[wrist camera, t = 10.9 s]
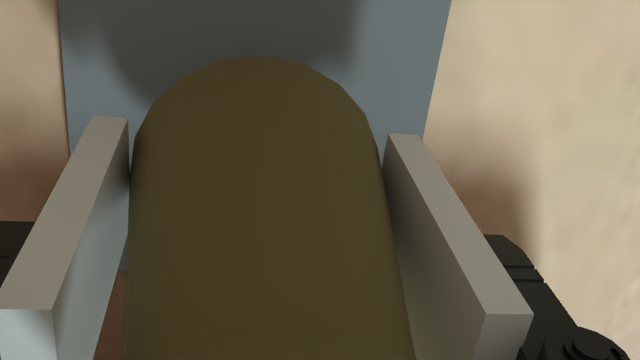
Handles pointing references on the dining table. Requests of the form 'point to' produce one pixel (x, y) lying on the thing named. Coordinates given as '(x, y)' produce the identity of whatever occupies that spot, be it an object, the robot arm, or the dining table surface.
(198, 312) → the cork
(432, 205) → the robot arm
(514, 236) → the dining table surface
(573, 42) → the dining table surface
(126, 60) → the grey pad
